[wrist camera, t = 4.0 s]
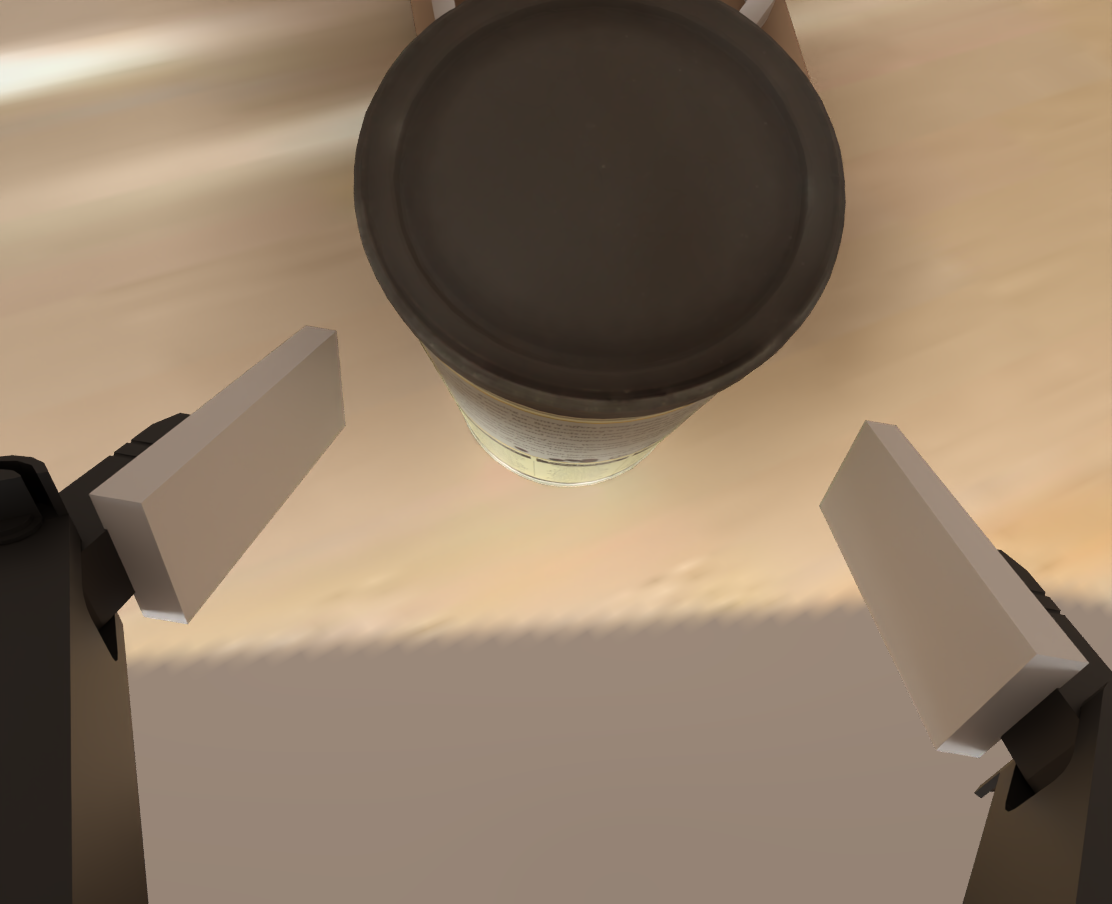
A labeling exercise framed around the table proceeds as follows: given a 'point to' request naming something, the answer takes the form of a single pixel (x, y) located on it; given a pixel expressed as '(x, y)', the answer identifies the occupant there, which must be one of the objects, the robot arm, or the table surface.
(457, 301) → the coffee can
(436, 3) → the collar board
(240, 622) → the table surface
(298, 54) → the table surface
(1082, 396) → the table surface
